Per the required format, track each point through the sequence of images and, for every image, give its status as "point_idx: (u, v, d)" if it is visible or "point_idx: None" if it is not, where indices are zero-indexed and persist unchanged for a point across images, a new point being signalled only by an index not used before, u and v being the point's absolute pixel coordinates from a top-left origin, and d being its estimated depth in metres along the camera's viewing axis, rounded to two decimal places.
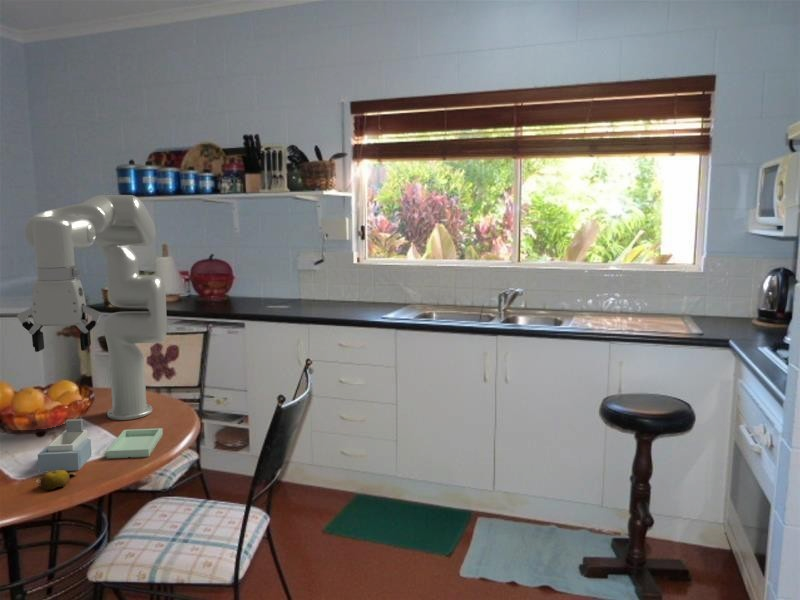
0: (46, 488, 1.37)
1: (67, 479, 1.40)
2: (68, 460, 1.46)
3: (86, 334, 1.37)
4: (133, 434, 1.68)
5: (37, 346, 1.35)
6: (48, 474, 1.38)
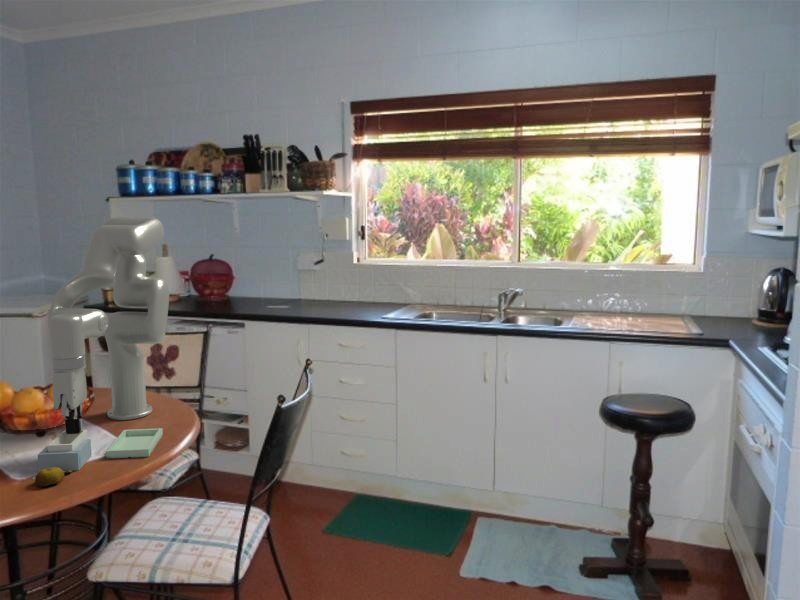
0: (40, 485, 1.38)
1: (61, 476, 1.41)
2: (68, 460, 1.46)
3: None
4: (133, 434, 1.68)
5: None
6: (42, 471, 1.39)
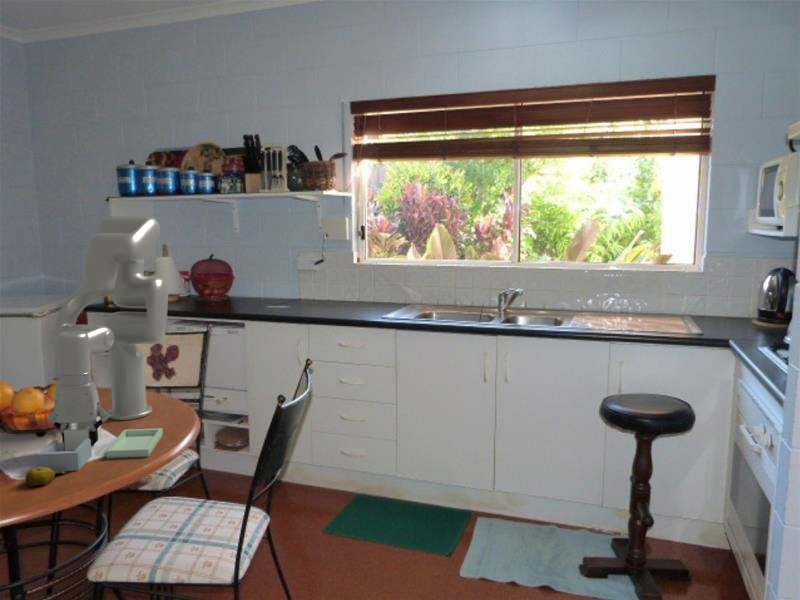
0: (28, 485, 1.38)
1: (50, 477, 1.40)
2: (68, 460, 1.46)
3: None
4: (133, 434, 1.68)
5: None
6: (32, 470, 1.39)
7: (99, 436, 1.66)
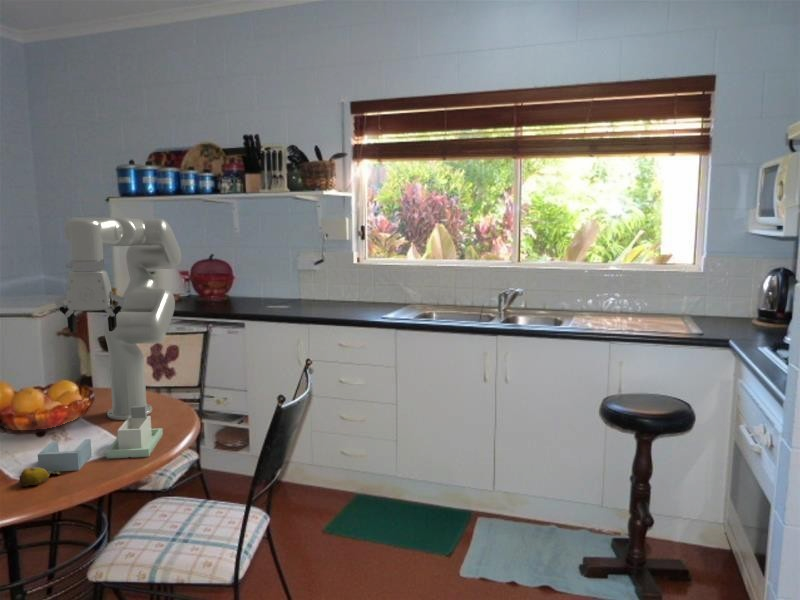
0: (21, 485, 1.38)
1: (43, 478, 1.40)
2: (68, 460, 1.46)
3: None
4: None
5: None
6: (26, 470, 1.39)
7: (150, 436, 1.65)
